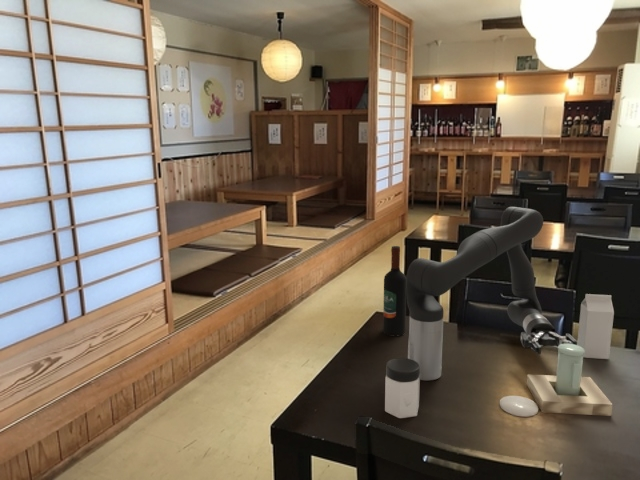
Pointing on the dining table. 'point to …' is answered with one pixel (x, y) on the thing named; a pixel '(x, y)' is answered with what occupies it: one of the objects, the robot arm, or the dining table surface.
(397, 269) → the wine bottle
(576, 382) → the mint green tumbler
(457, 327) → the dining table surface
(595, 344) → the milk carton
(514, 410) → the saucer
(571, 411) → the wooden square frame
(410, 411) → the jar
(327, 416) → the dining table surface
